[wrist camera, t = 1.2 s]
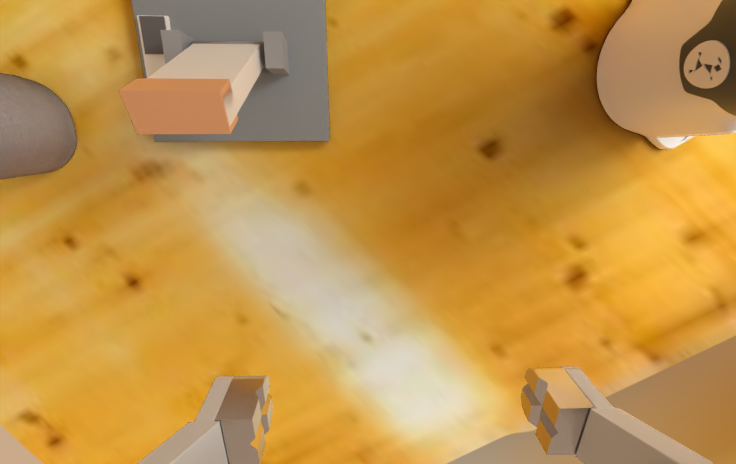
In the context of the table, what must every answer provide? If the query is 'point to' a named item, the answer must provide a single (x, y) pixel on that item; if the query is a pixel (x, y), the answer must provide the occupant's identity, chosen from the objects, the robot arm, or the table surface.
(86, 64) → the table surface
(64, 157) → the pillar candle
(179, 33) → the switch board
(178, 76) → the block
